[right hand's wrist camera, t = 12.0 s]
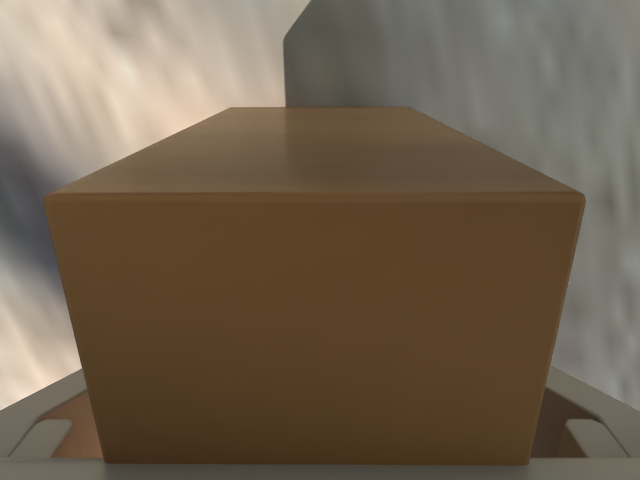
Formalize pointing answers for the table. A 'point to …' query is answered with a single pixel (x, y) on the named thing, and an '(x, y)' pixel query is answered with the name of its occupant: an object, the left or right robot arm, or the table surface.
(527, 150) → the table surface
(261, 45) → the table surface
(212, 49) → the table surface
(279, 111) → the beam
